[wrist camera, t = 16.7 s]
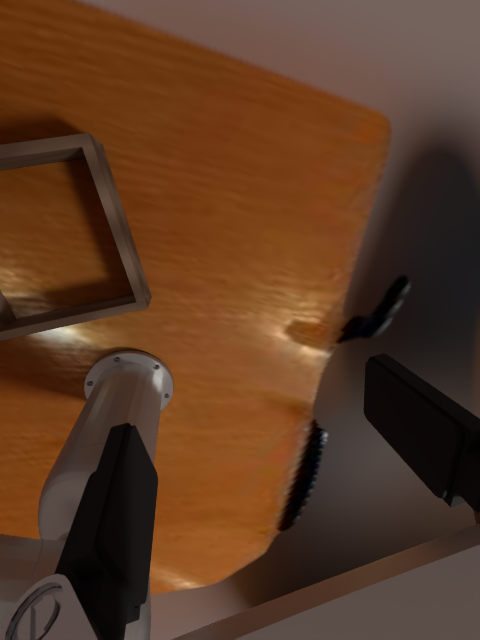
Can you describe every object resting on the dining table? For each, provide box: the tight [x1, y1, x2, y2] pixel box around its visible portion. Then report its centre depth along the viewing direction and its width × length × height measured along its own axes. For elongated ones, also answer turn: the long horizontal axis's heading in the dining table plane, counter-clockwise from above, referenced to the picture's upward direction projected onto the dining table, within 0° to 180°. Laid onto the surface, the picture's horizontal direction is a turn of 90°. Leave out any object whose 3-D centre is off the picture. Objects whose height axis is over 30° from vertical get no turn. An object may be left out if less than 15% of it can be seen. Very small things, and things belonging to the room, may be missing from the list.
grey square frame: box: [0, 133, 152, 341], centre depth 29 cm, size 18×18×4 cm
